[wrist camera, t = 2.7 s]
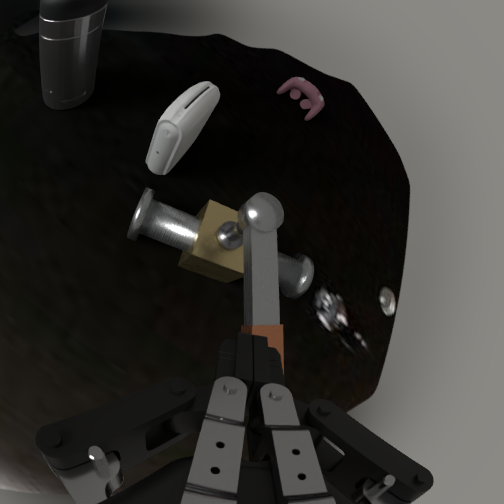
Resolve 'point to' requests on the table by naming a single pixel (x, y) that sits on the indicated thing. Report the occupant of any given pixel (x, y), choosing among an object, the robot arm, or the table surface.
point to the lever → (261, 268)
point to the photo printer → (181, 126)
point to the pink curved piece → (309, 90)
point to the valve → (212, 242)
